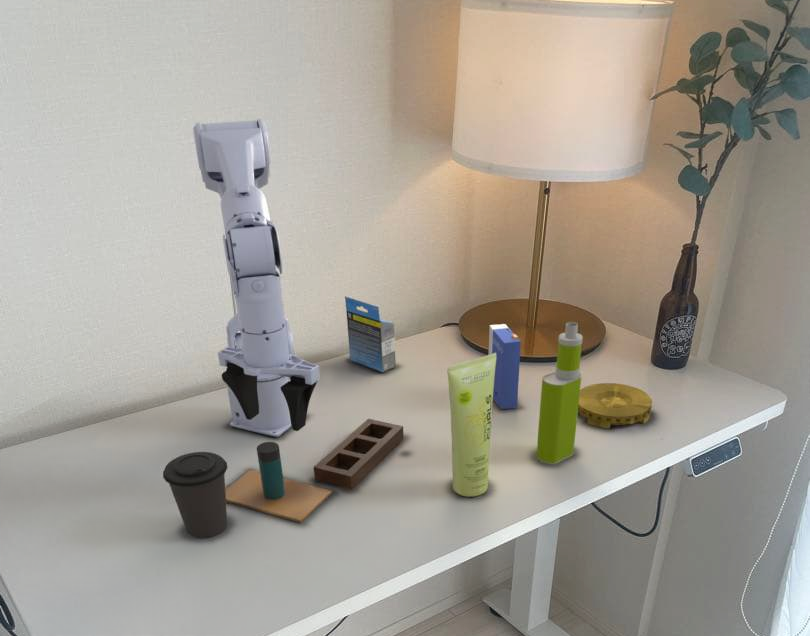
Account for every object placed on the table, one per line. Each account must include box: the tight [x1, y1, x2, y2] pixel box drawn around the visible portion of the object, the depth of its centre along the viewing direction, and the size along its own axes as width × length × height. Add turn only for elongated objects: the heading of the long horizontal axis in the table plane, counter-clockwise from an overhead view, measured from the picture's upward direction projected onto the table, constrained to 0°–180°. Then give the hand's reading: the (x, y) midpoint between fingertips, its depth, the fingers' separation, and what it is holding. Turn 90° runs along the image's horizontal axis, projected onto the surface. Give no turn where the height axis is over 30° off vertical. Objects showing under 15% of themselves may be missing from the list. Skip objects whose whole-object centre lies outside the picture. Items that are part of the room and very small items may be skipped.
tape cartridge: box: [344, 295, 397, 373], centre depth 145 cm, size 9×4×12 cm, turn 46°
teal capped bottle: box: [256, 441, 285, 499], centre depth 110 cm, size 3×3×8 cm
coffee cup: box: [162, 451, 228, 539], centre depth 104 cm, size 8×8×10 cm
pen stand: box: [313, 418, 405, 490], centre depth 120 cm, size 6×16×2 cm, turn 153°
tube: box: [447, 353, 496, 497], centre depth 107 cm, size 6×5×20 cm
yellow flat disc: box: [578, 382, 653, 429], centre depth 130 cm, size 12×12×2 cm
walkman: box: [488, 323, 522, 410], centre depth 132 cm, size 8×3×12 cm, turn 13°
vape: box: [536, 321, 584, 465], centre depth 114 cm, size 4×6×20 cm, turn 129°
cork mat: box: [225, 469, 333, 523], centre depth 113 cm, size 14×8×1 cm, turn 63°
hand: (275, 421), depth 109 cm, fingers open, 7 cm apart
